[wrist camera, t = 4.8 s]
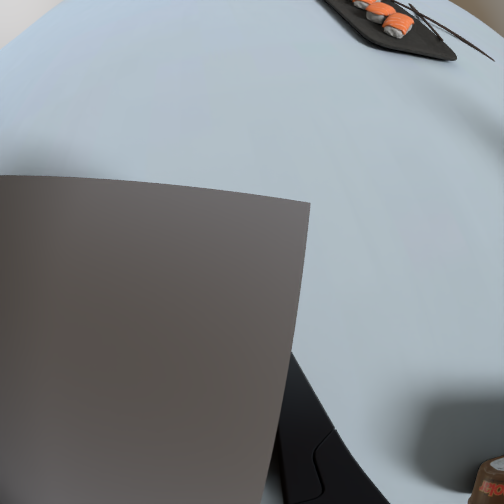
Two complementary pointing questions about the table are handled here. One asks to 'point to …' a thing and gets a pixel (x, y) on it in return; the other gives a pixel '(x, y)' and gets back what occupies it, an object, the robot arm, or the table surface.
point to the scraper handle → (143, 339)
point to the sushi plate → (395, 27)
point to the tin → (489, 483)
